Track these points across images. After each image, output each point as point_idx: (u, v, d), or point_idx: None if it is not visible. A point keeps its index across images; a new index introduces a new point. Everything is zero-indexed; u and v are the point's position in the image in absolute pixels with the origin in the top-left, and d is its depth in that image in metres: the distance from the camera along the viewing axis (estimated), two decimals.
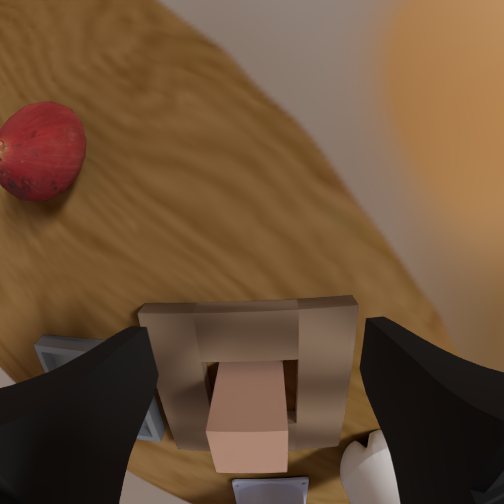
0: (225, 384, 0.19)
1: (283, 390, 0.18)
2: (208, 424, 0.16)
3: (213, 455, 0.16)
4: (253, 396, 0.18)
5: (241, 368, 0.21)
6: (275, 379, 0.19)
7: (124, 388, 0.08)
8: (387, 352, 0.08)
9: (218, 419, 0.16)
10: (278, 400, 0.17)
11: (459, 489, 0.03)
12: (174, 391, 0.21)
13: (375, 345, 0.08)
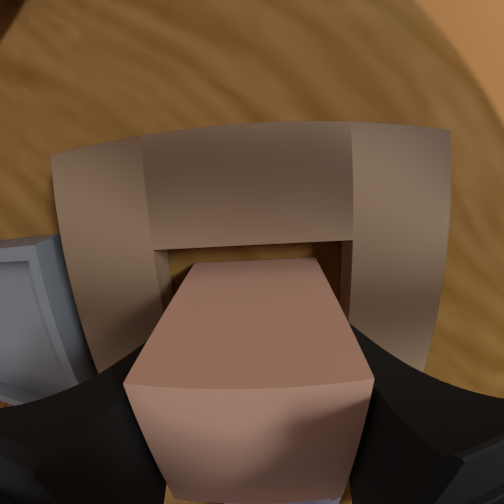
0: (198, 291, 0.09)
1: (332, 297, 0.08)
2: (135, 366, 0.06)
3: (158, 460, 0.06)
4: (263, 308, 0.08)
5: (235, 270, 0.11)
6: (308, 282, 0.09)
7: None
8: None
9: (166, 357, 0.06)
10: (325, 313, 0.07)
11: None
12: (107, 325, 0.11)
13: None
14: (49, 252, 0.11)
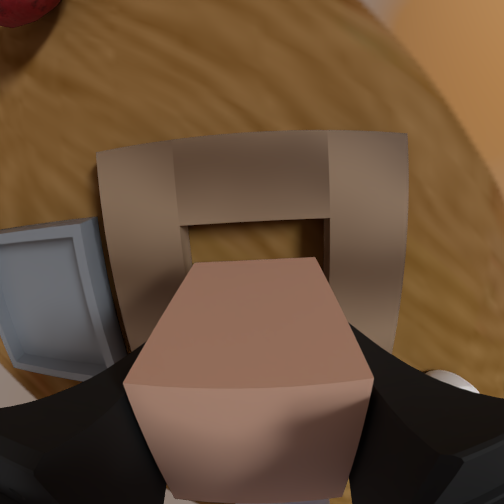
0: (197, 291, 0.09)
1: (331, 296, 0.08)
2: (135, 366, 0.06)
3: (158, 459, 0.06)
4: (263, 308, 0.08)
5: (235, 270, 0.11)
6: (308, 281, 0.09)
7: None
8: None
9: (166, 356, 0.06)
10: (325, 313, 0.07)
11: None
12: (138, 288, 0.14)
13: None
14: (89, 230, 0.14)
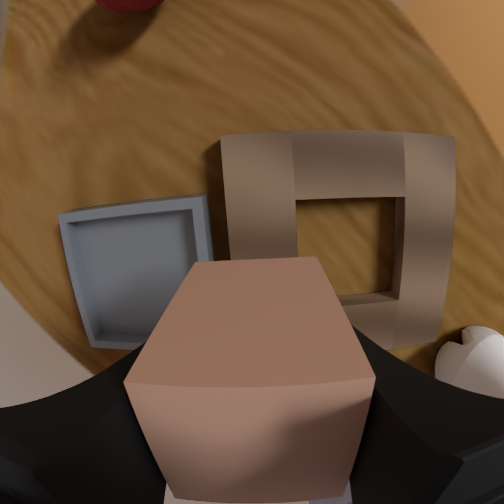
0: (198, 290, 0.09)
1: (332, 296, 0.08)
2: (135, 365, 0.06)
3: (158, 459, 0.06)
4: (264, 307, 0.08)
5: (236, 269, 0.11)
6: (309, 281, 0.09)
7: None
8: None
9: (167, 355, 0.06)
10: (326, 312, 0.07)
11: None
12: (253, 254, 0.18)
13: None
14: (205, 204, 0.17)
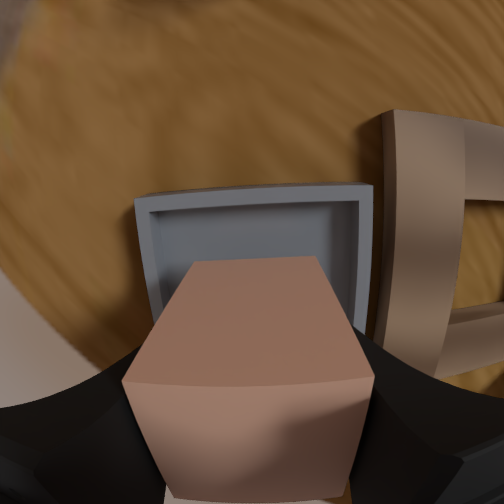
0: (197, 290, 0.09)
1: (331, 295, 0.08)
2: (134, 364, 0.06)
3: (157, 458, 0.06)
4: (263, 306, 0.08)
5: (235, 268, 0.11)
6: (308, 280, 0.09)
7: None
8: None
9: (165, 354, 0.06)
10: (325, 311, 0.07)
11: None
12: (418, 262, 0.13)
13: None
14: None
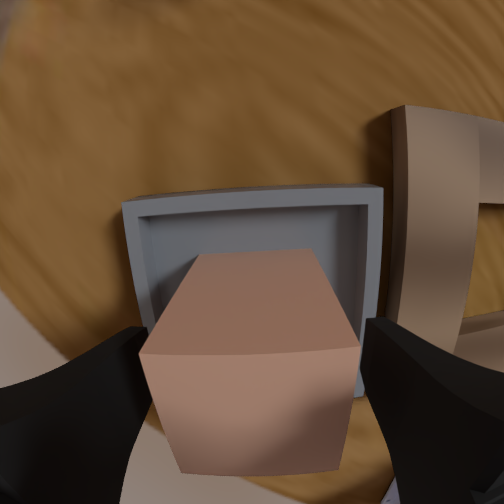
0: (203, 278, 0.10)
1: (325, 281, 0.09)
2: (148, 339, 0.07)
3: (167, 430, 0.07)
4: (263, 291, 0.09)
5: (237, 260, 0.12)
6: (304, 269, 0.10)
7: (124, 387, 0.08)
8: (387, 352, 0.08)
9: (177, 331, 0.07)
10: (319, 294, 0.08)
11: (459, 489, 0.03)
12: (429, 270, 0.12)
13: (375, 345, 0.08)
14: None
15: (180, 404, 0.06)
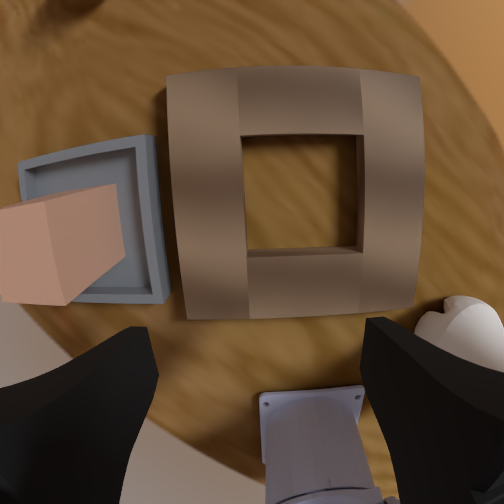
0: (40, 197, 0.15)
1: (84, 190, 0.14)
2: None
3: None
4: (52, 196, 0.13)
5: (68, 191, 0.16)
6: None
7: (124, 388, 0.08)
8: (387, 352, 0.08)
9: (2, 208, 0.11)
10: (69, 193, 0.13)
11: (459, 489, 0.03)
12: (195, 193, 0.16)
13: (375, 345, 0.08)
14: (150, 144, 0.16)
15: None
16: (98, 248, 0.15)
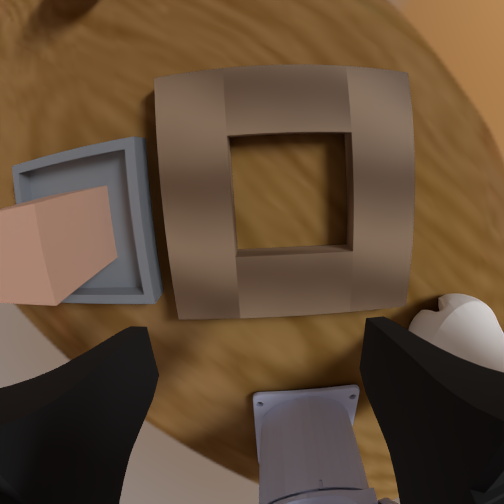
0: (33, 200, 0.15)
1: (75, 192, 0.14)
2: None
3: None
4: (44, 198, 0.13)
5: (61, 193, 0.16)
6: (79, 191, 0.15)
7: (124, 387, 0.08)
8: (387, 352, 0.08)
9: None
10: (60, 196, 0.13)
11: (459, 489, 0.03)
12: (184, 194, 0.16)
13: (375, 345, 0.08)
14: (140, 146, 0.16)
15: None
16: (89, 249, 0.15)
